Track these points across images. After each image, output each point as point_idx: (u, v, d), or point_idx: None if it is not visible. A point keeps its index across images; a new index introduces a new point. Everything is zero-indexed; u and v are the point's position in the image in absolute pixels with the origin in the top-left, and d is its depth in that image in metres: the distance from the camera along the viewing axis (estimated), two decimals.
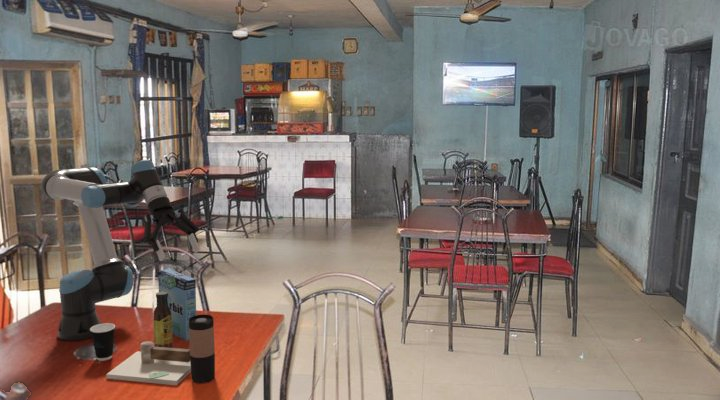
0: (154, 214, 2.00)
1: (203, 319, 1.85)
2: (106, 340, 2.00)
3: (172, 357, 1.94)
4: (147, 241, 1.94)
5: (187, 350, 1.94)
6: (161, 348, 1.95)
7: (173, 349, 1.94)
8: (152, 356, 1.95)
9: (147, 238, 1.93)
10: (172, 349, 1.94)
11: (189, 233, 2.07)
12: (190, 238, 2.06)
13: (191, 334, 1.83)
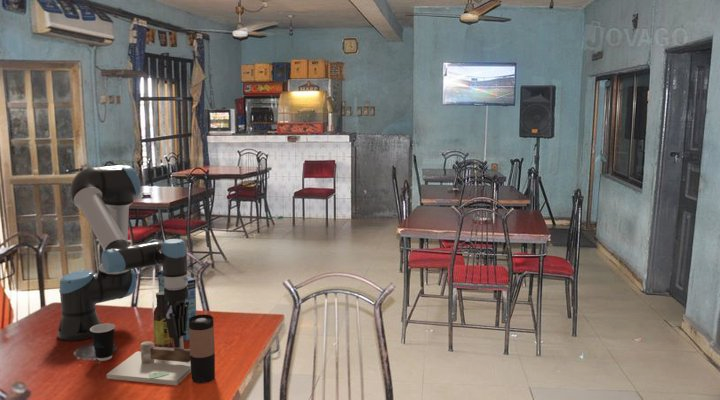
0: (173, 308, 1.89)
1: (203, 319, 1.85)
2: (106, 340, 2.00)
3: (172, 357, 1.94)
4: (173, 338, 1.92)
5: (187, 350, 1.94)
6: (161, 348, 1.95)
7: (173, 349, 1.94)
8: (152, 356, 1.95)
9: (176, 337, 1.92)
10: (172, 349, 1.94)
11: None
12: None
13: (191, 334, 1.83)
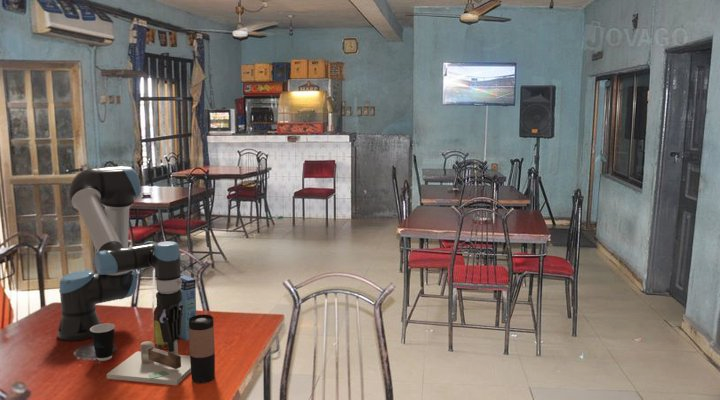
0: (167, 312, 1.86)
1: (203, 319, 1.85)
2: (106, 340, 2.00)
3: (164, 361, 1.91)
4: (167, 342, 1.89)
5: (176, 356, 1.89)
6: (157, 350, 1.93)
7: (166, 353, 1.91)
8: (149, 357, 1.94)
9: (170, 341, 1.88)
10: (165, 353, 1.91)
11: None
12: None
13: (191, 334, 1.83)
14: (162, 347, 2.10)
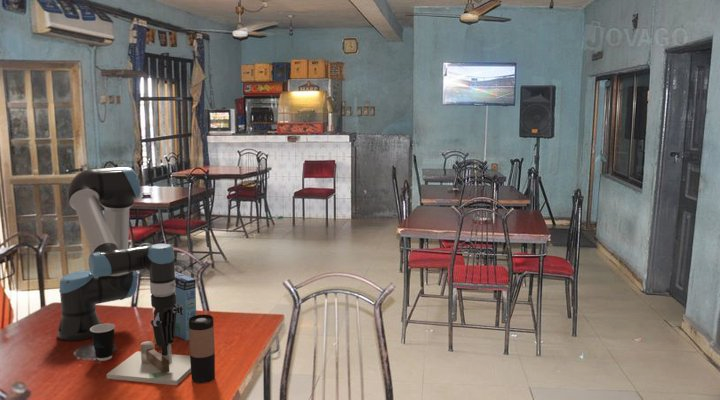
0: (160, 315, 1.84)
1: (203, 319, 1.85)
2: (106, 340, 2.00)
3: (155, 364, 1.89)
4: (161, 346, 1.86)
5: (165, 361, 1.85)
6: (153, 352, 1.92)
7: (158, 356, 1.89)
8: (147, 357, 1.94)
9: (164, 345, 1.86)
10: (157, 356, 1.89)
11: None
12: None
13: (191, 334, 1.83)
14: None
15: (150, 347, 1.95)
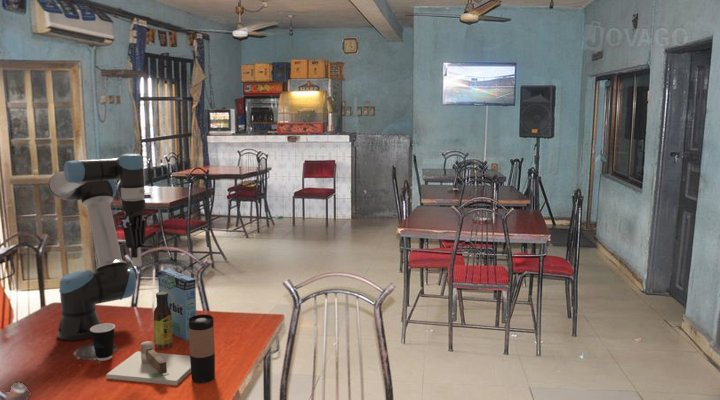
0: (130, 218, 2.00)
1: (203, 319, 1.85)
2: (106, 340, 2.00)
3: (154, 364, 1.88)
4: (130, 247, 2.03)
5: (162, 361, 1.85)
6: (152, 352, 1.92)
7: (156, 356, 1.89)
8: (146, 357, 1.94)
9: (133, 247, 2.02)
10: (156, 356, 1.89)
11: None
12: None
13: (191, 334, 1.83)
14: (162, 347, 2.10)
15: (150, 347, 1.95)
